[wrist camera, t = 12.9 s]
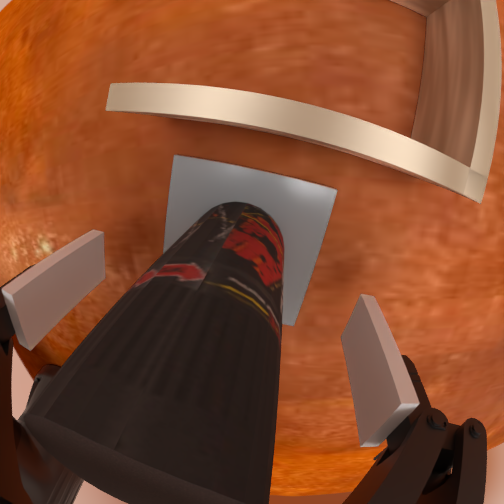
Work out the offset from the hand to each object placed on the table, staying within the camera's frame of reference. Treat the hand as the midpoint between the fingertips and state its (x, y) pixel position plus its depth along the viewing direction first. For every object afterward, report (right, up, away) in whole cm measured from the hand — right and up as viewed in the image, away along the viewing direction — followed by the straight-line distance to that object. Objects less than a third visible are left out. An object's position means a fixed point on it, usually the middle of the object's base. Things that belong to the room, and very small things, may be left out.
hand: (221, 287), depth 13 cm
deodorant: (+1, +2, +5) cm, 5 cm away
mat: (+1, +2, +5) cm, 6 cm away
